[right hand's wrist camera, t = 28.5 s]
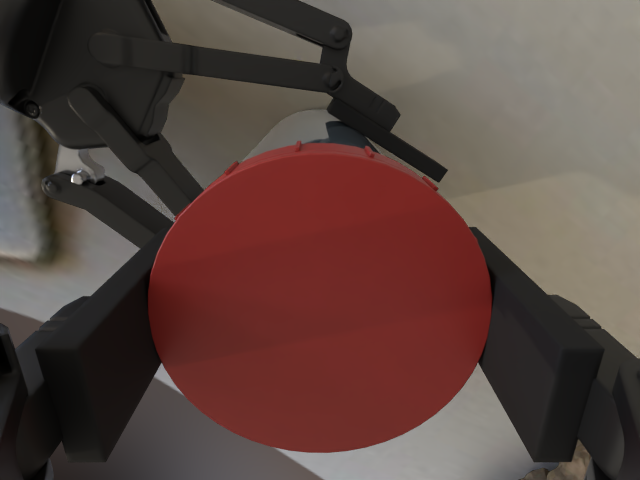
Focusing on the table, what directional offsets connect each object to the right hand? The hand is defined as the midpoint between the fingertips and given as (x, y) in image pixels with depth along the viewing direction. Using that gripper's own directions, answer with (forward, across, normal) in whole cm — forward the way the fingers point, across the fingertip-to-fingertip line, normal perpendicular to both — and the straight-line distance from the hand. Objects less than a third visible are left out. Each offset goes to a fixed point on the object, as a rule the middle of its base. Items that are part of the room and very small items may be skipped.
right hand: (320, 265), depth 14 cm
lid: (-3, 0, 0) cm, 3 cm away
